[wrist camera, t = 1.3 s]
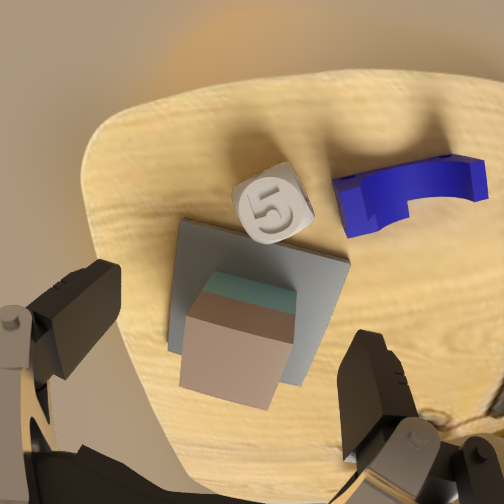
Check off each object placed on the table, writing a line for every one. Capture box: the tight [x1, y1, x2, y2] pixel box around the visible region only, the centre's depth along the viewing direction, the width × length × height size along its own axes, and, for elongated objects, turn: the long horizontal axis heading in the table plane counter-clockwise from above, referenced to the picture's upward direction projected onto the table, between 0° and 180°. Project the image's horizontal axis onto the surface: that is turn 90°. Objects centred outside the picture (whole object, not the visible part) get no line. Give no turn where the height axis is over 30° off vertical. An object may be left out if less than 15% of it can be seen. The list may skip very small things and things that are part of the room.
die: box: [232, 161, 315, 244], centre depth 25 cm, size 5×5×5 cm
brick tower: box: [168, 218, 351, 410], centre depth 27 cm, size 16×16×9 cm
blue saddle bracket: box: [332, 154, 489, 238], centre depth 22 cm, size 12×4×6 cm, turn 108°
